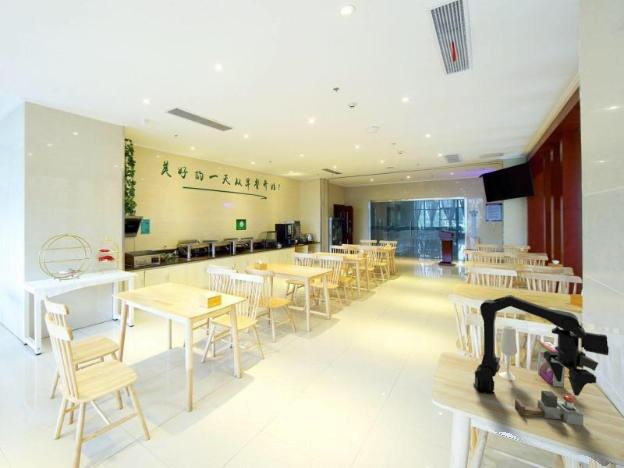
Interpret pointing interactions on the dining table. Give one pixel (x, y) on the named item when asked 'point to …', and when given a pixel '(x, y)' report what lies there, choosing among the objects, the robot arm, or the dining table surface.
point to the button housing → (571, 414)
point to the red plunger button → (568, 401)
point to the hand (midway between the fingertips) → (567, 388)
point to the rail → (530, 410)
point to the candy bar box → (544, 366)
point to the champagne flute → (508, 348)
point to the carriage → (549, 405)
